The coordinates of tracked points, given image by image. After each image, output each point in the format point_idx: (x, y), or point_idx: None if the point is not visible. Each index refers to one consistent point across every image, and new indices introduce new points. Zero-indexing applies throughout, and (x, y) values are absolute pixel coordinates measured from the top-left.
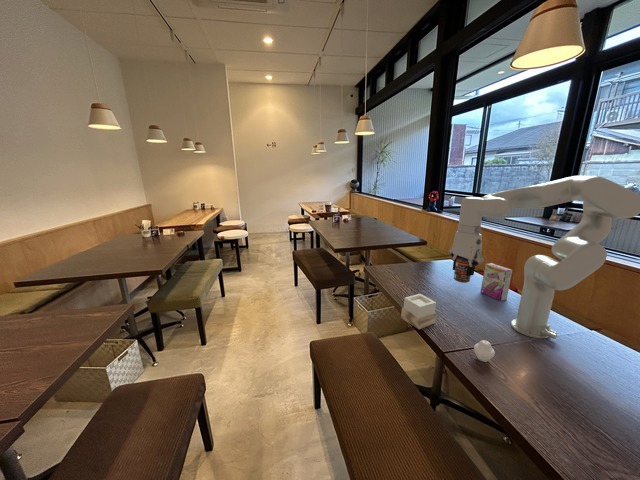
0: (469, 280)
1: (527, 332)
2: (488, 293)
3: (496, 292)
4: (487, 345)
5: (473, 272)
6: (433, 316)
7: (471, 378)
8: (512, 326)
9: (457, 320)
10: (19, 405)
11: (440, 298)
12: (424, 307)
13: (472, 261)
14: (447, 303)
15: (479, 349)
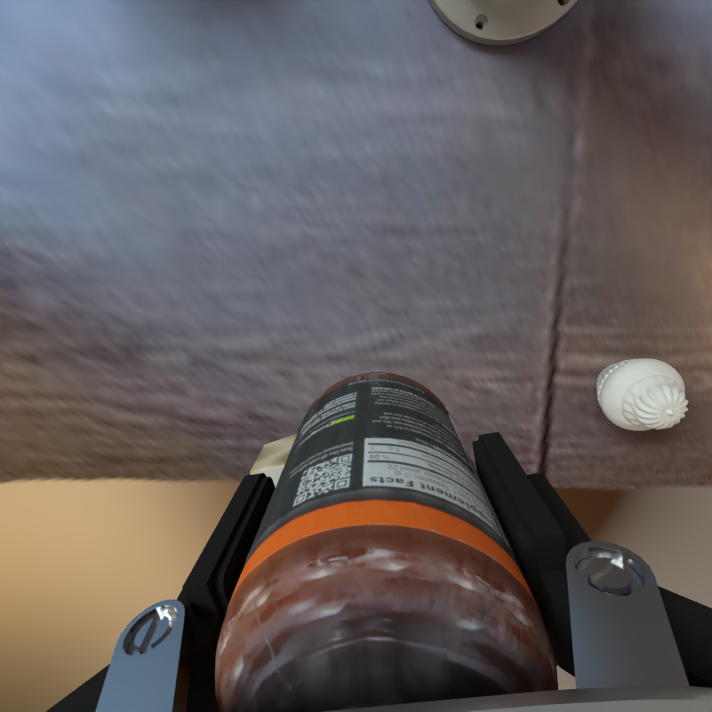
0: (448, 413)
1: (554, 4)
2: None
3: None
4: (684, 415)
5: (549, 494)
6: None
7: (674, 478)
8: (471, 38)
9: (356, 303)
10: None
11: (127, 250)
12: None
13: (512, 609)
14: (186, 246)
15: (650, 428)
